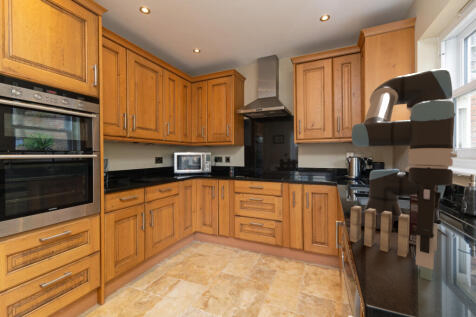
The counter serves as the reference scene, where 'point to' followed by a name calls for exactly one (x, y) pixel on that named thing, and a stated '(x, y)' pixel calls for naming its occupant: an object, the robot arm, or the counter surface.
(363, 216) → the perforated stone tool
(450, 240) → the counter surface
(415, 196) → the supplement box
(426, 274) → the grey-green domino
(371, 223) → the birch domino
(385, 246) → the birch domino
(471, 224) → the counter surface
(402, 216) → the birch domino
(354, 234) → the birch domino
